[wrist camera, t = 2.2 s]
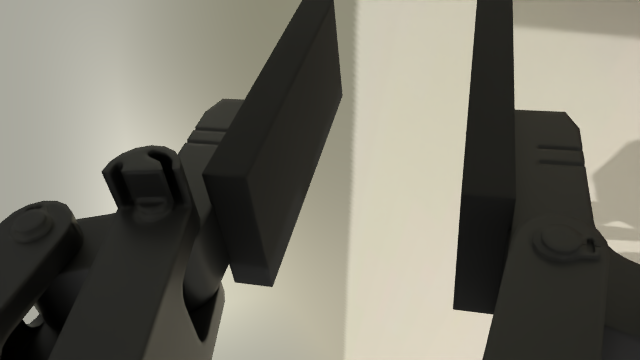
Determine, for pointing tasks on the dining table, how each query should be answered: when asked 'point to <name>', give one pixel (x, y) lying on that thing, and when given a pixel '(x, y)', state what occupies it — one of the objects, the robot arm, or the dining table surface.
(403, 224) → the dining table surface
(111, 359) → the robot arm
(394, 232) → the dining table surface
